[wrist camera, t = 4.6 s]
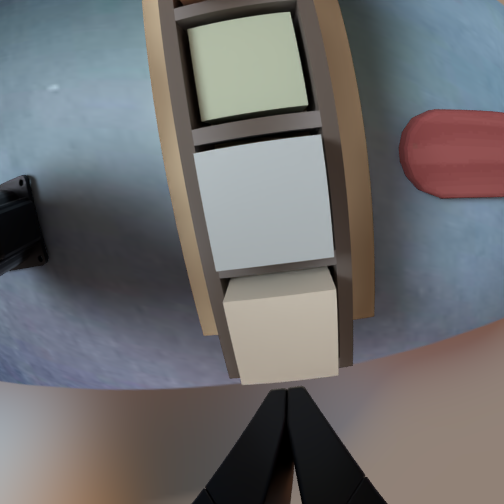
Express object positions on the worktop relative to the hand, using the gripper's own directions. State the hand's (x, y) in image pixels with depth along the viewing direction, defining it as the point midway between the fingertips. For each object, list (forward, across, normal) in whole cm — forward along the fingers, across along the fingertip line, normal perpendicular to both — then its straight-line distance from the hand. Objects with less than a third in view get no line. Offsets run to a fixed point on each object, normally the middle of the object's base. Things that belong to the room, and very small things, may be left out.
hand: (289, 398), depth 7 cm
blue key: (+7, 0, -4) cm, 8 cm away
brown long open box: (+11, 0, -7) cm, 13 cm away
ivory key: (+7, 0, +1) cm, 7 cm away
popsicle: (+12, -15, -4) cm, 19 cm away
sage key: (+9, 0, -9) cm, 13 cm away
